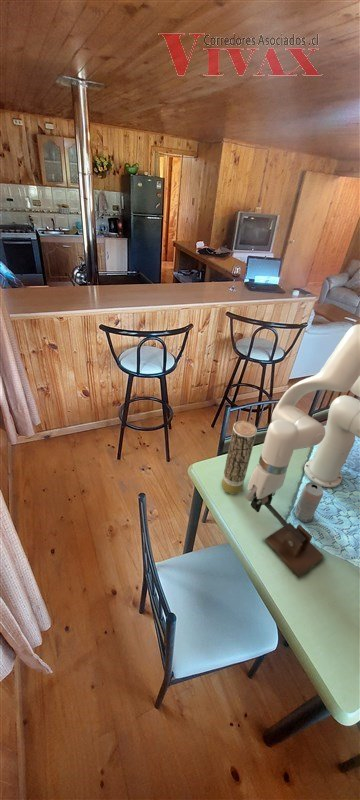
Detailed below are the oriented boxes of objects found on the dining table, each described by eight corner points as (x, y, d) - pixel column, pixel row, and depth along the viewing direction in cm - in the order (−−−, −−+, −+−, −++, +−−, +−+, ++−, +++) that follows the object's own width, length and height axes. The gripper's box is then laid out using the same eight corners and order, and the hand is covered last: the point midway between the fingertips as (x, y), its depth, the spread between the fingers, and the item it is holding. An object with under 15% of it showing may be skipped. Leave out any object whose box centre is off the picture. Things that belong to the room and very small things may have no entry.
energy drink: (312, 511, 103) (324, 485, 96) (310, 525, 99) (323, 498, 92) (295, 505, 104) (306, 479, 98) (292, 517, 100) (303, 491, 93)
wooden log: (241, 496, 106) (256, 437, 92) (220, 492, 107) (232, 433, 92) (242, 481, 111) (257, 423, 97) (222, 477, 112) (234, 419, 98)
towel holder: (264, 541, 93) (270, 525, 89) (288, 525, 98) (294, 510, 94) (298, 578, 85) (305, 562, 81) (322, 558, 90) (330, 543, 86)
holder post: (251, 500, 98) (255, 493, 96) (260, 495, 100) (263, 488, 98) (295, 549, 88) (300, 542, 86) (304, 543, 90) (308, 536, 87)
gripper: (284, 443, 95) (270, 486, 105) (241, 464, 87) (230, 508, 97) (305, 459, 90) (288, 502, 100) (261, 483, 82) (248, 527, 92)
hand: (260, 505), depth 99 cm, fingers closed on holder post, 3 cm apart
